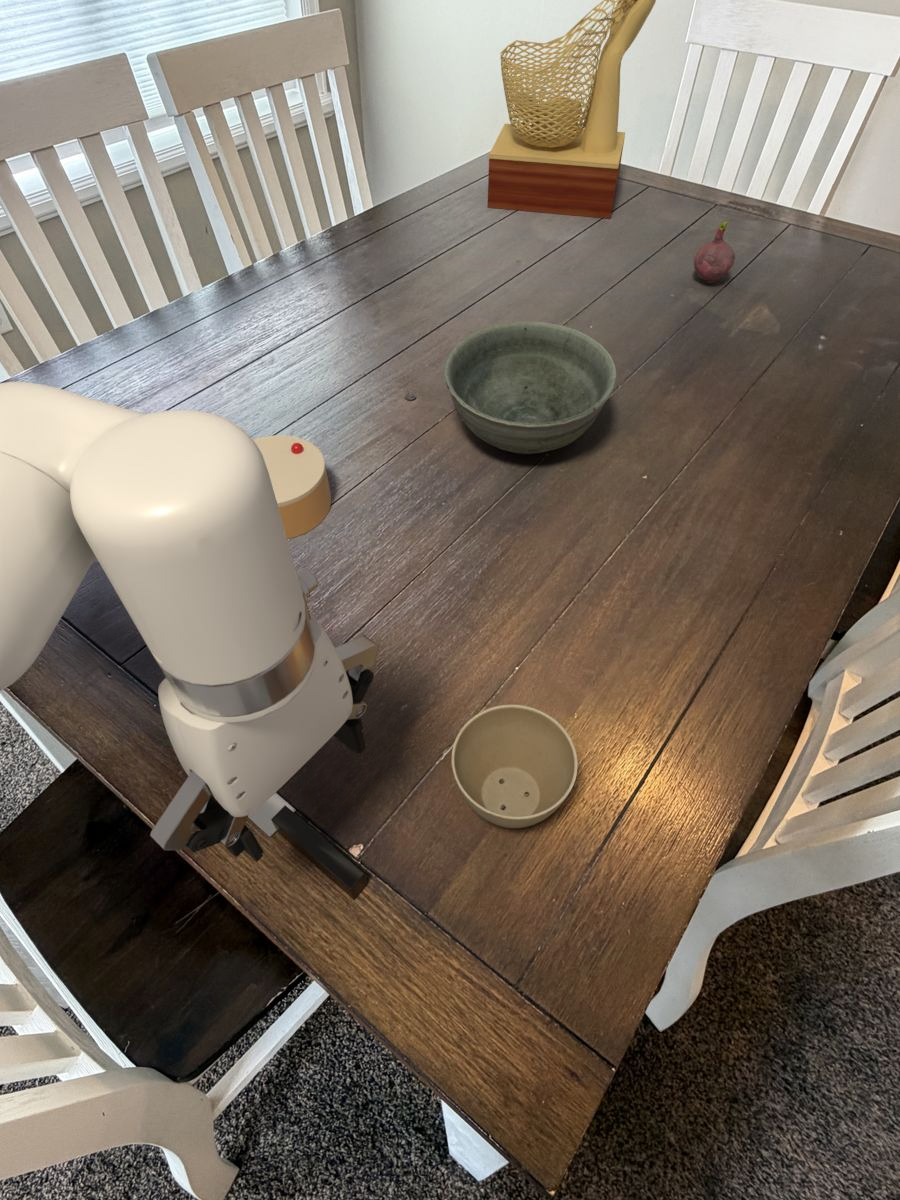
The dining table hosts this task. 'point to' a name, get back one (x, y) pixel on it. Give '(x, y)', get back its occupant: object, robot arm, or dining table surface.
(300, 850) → the knife
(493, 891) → the dining table surface
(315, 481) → the cake
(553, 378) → the bowl
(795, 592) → the dining table surface
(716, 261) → the vegetable
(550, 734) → the flower pot
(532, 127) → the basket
